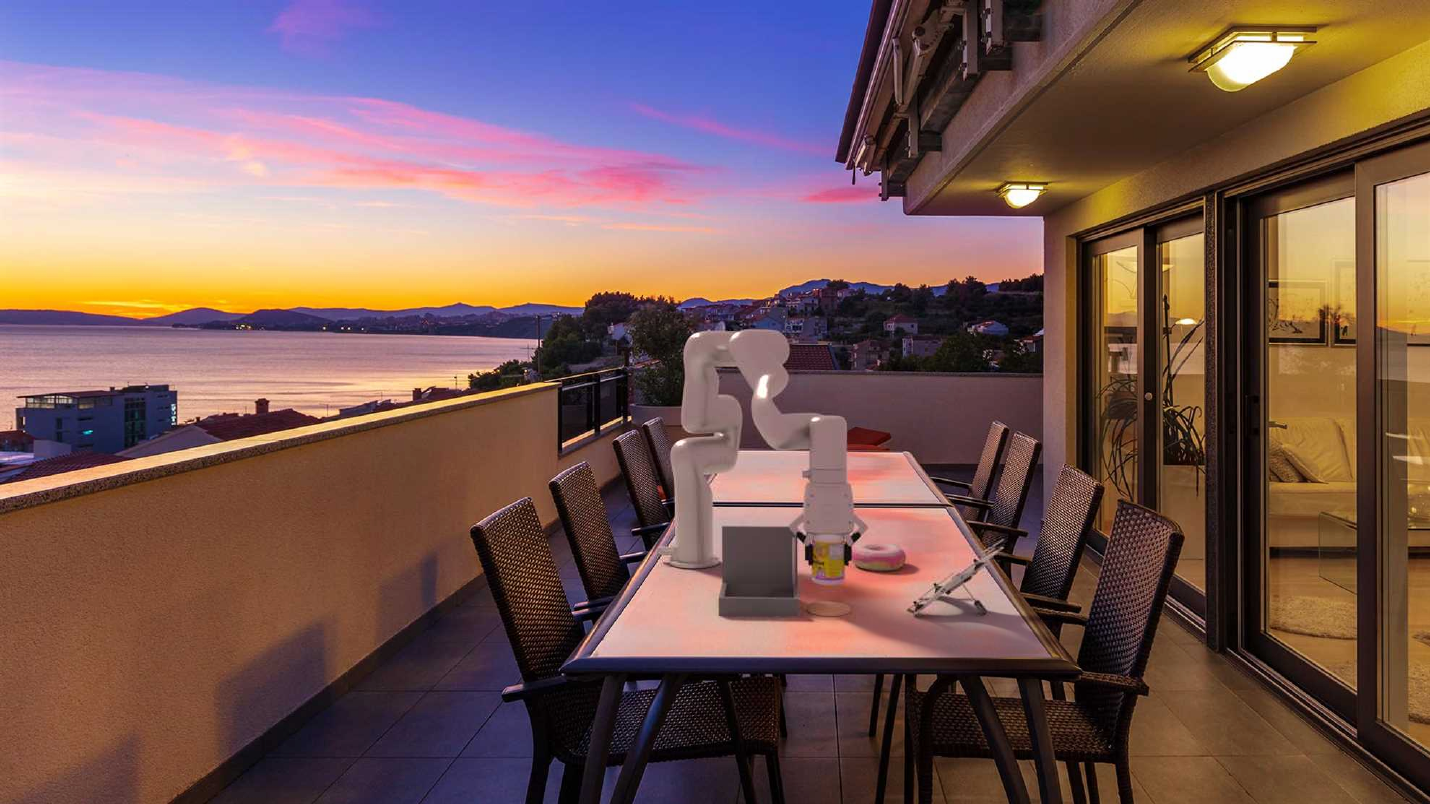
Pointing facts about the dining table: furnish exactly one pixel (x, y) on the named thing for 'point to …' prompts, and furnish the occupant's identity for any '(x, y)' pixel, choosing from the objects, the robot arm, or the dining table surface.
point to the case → (759, 571)
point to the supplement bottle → (828, 559)
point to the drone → (960, 581)
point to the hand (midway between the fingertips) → (828, 563)
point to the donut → (878, 556)
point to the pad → (828, 608)
